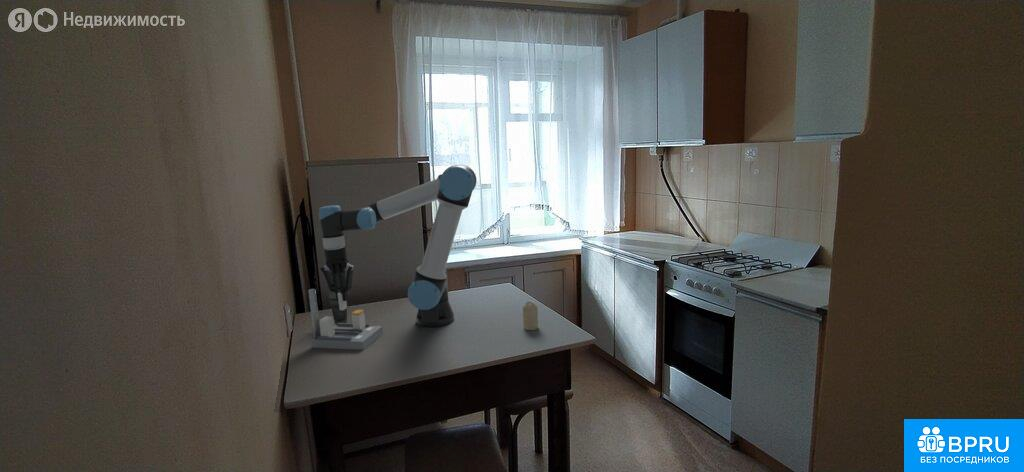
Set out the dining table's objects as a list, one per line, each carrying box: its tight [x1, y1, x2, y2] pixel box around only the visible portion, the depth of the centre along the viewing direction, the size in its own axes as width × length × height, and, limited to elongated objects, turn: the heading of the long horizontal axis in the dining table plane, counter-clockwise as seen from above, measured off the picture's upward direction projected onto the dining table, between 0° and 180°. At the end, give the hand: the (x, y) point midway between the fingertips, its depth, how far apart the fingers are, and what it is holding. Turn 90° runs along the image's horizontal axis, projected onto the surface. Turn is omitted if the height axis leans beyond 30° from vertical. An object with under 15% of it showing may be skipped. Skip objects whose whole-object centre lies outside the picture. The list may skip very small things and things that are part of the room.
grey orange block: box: [351, 309, 367, 330], centre depth 179 cm, size 3×4×7 cm
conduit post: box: [308, 288, 321, 339], centre depth 171 cm, size 2×2×18 cm
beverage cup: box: [328, 290, 348, 325], centre depth 193 cm, size 7×7×20 cm
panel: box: [311, 322, 384, 351], centre depth 176 cm, size 20×15×4 cm
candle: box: [522, 301, 539, 331], centre depth 181 cm, size 6×6×10 cm
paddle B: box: [319, 315, 335, 337], centre depth 173 cm, size 3×4×7 cm
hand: (343, 309), depth 180 cm, fingers closed
